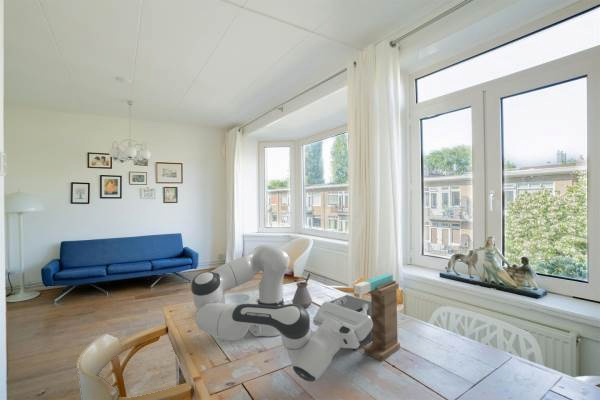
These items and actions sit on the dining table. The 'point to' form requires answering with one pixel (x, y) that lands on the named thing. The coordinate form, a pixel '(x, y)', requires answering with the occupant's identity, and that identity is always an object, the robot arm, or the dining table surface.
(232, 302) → the serving bowl
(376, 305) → the post
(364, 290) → the teal bar
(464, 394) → the dining table surface
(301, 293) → the coffee pot
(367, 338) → the switch box
